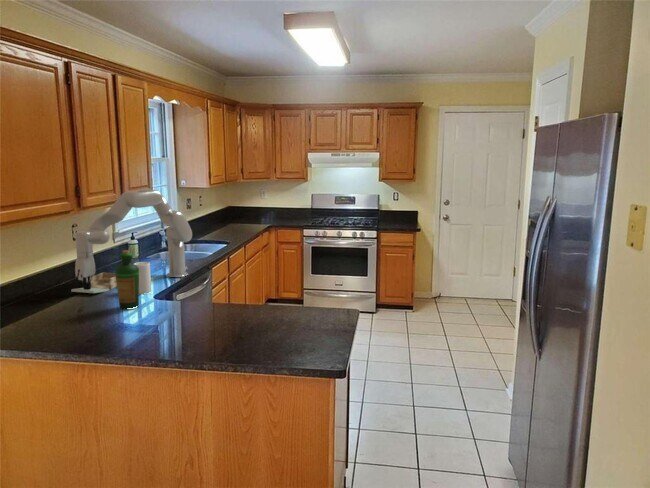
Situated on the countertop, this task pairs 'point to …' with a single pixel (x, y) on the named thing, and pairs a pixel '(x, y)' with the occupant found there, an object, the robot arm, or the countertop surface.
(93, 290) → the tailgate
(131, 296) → the bottle
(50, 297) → the countertop surface
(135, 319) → the countertop surface
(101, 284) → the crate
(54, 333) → the countertop surface
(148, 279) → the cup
